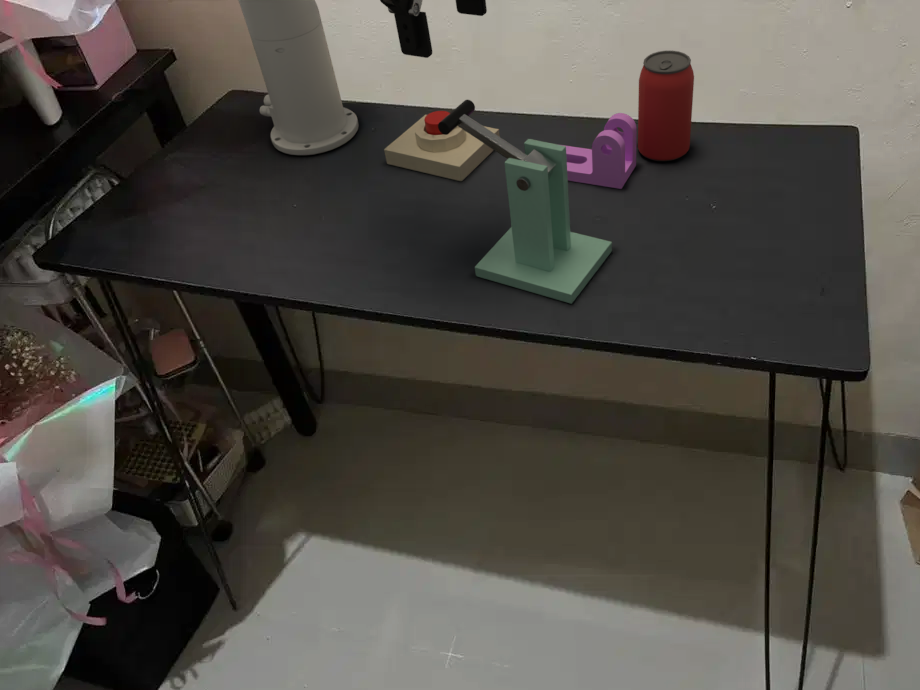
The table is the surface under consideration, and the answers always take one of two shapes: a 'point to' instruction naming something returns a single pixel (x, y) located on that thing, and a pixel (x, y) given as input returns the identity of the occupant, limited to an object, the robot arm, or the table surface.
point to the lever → (489, 136)
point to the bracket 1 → (542, 232)
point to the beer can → (665, 105)
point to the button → (434, 122)
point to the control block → (438, 151)
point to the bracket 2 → (606, 155)
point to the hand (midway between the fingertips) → (445, 33)
